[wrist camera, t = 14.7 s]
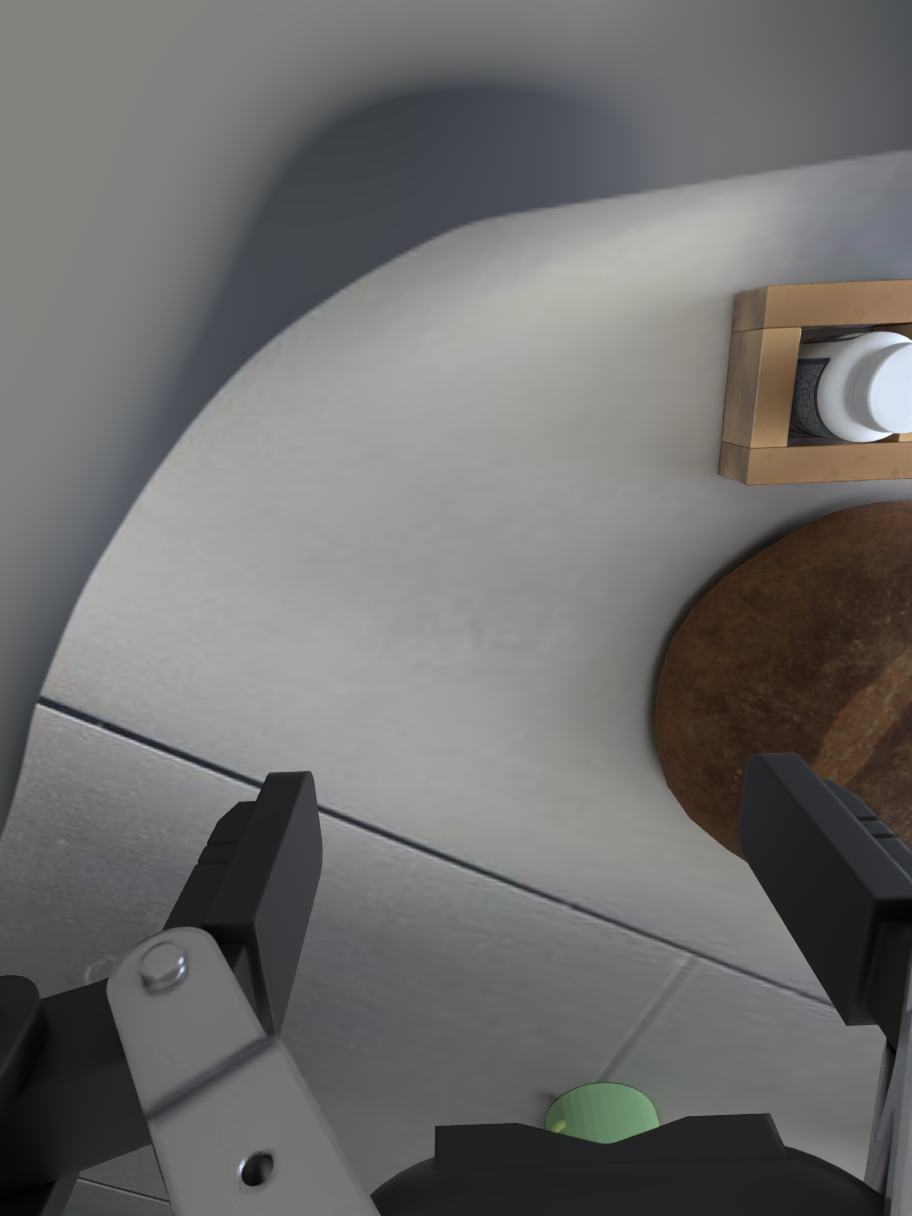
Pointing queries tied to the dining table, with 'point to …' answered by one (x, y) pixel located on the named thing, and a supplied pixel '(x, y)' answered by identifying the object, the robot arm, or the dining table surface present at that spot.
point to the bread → (798, 671)
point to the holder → (768, 381)
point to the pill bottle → (853, 387)
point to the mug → (602, 1113)
